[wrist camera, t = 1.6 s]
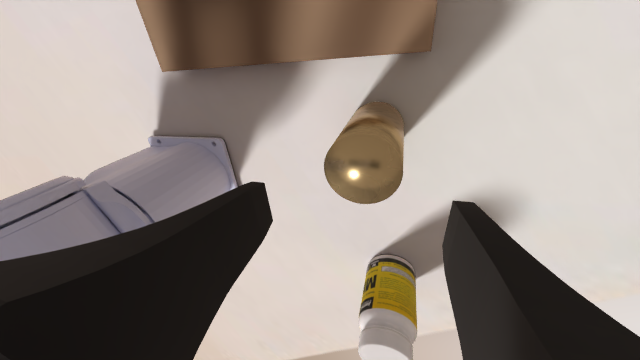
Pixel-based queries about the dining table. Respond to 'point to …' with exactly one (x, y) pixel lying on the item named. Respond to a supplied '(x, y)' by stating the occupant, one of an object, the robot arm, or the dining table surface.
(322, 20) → the jig board
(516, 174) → the dining table surface
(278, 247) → the dining table surface
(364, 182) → the cylinder
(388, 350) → the supplement bottle
